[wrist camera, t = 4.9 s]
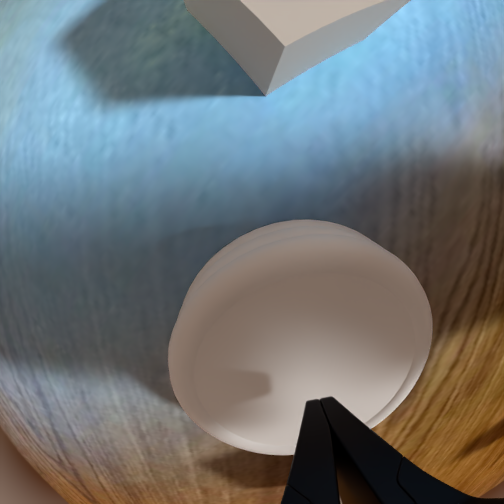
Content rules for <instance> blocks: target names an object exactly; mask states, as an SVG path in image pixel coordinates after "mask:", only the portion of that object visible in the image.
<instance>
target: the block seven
mask: <svg viewBox="0 0 504 504" xmlns="http://www.w3.org/2000/svg"><path fill="white" fill-rule="evenodd" d="M409 1H410V0H184V3H185V6H186V8H187V11H188V12H189V13H190V14H191V15H192V16H193V17H194V18H195V19H196V20H198V21H199V23H200V24H201V25H202V26H203V27H204V28H205V29H206V30H207V31H208V32H209V33H210V34H211V35H212V36H213V37H214V38H215V39H216V40H217V41H218V42H219V43H220V44H221V45H222V46H223V48H224V49H225V50H226V51H227V52H228V53H229V54H230V55H231V56H232V57H233V59H234V60H235V61H236V62H237V63H238V64H239V65H240V67H241V68H242V69H243V70H244V71H245V72H246V73H247V75H248V76H249V77H250V78H251V79H252V80H253V82H254V83H255V84H256V85H257V86H258V88H259V89H260V90H261V91H262V92H263V94H264V95H265V96H267V95H268V94H270V93H272V92H273V91H275V90H276V89H278V88H279V87H281V86H282V85H284V84H286V83H287V82H289V81H290V80H292V79H294V78H295V77H297V76H299V75H300V74H302V73H304V72H305V71H307V70H309V69H310V68H312V67H314V66H316V65H317V64H319V63H321V62H323V61H324V60H326V59H328V58H330V57H332V56H334V55H335V54H337V53H339V52H341V51H343V50H345V49H347V48H349V47H351V46H353V45H355V44H357V43H359V42H361V41H363V40H364V39H366V38H367V37H368V36H369V35H370V34H371V33H372V32H373V31H375V30H376V29H377V28H378V27H379V26H380V25H382V24H383V23H384V22H385V21H386V20H387V19H389V18H390V17H391V16H392V15H393V14H394V13H396V12H397V11H398V10H399V9H401V8H402V7H403V6H404V5H405V4H407V3H408V2H409Z"/></svg>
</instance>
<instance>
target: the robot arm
mask: <svg viewBox="0 0 504 504" xmlns="http://www.w3.org/2000/svg"><path fill="white" fill-rule="evenodd" d="M340 498H341V501H342V504H504V498H489V499H488V498H477V497H473V496H470V495H467V494H465V493H463V492H461V491H459V490H457V489H455V488H453V487H451V486H449V485H447V484H445V483H444V482H442V481H440V480H438V479H436V478H435V477H433V476H431V475H429V474H428V473H426V472H425V471H423V470H422V469H420V468H419V467H417V466H416V465H415V464H413V463H412V462H411V461H409V460H408V459H407V458H406V457H403V455H402V454H401V453H399V452H398V451H397V450H396V449H394V448H393V447H392V446H391V445H389V444H388V443H387V442H386V441H384V440H383V439H382V438H381V437H380V436H378V435H377V434H376V433H375V432H374V431H372V430H371V429H370V428H369V427H368V426H366V425H365V424H364V423H363V422H362V421H361V420H359V419H358V418H357V417H356V416H355V415H354V414H352V413H351V412H350V411H349V410H348V409H347V408H345V407H344V406H343V405H342V404H341V403H340V402H339V401H337V400H336V399H335V398H334V397H332V396H329V397H324V398H320V400H319V399H313V400H308V401H306V403H305V408H304V413H303V418H302V422H301V427H300V432H299V436H298V440H297V445H296V449H295V453H294V457H293V461H292V465H291V469H290V473H289V477H288V480H287V486H286V487H285V491H284V495H283V498H282V501H281V504H340Z"/></svg>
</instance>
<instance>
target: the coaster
mask: <svg viewBox="0 0 504 504" xmlns="http://www.w3.org/2000/svg"><path fill="white" fill-rule="evenodd" d="M432 333H433V325H432V314H431V309H430V304H429V302H428V299H427V296H426V293H425V291H424V289H423V287H422V286H421V284H420V282H419V281H418V279H417V277H416V276H415V274H414V273H413V272H412V271H411V270H410V269H409V267H408V266H407V265H406V264H405V263H404V262H402V261H401V260H400V259H399V258H398V257H396V256H395V255H394V254H392V253H390V252H389V251H387V250H385V249H384V248H383V247H381V246H380V245H378V244H377V243H375V242H373V241H372V240H370V239H369V238H368V237H366V236H364V235H362V234H361V233H359V232H357V231H356V230H353V229H351V228H348V227H346V226H343V225H340V224H336V223H332V222H328V221H321V220H311V219H307V220H289V221H283V222H278V223H273V224H270V225H267V226H263V227H260V228H257V229H255V230H253V231H251V232H249V233H247V234H244V235H242V236H240V237H239V238H237V239H235V240H234V241H232V242H231V243H229V244H228V245H226V246H225V247H223V248H222V249H221V250H220V251H219V252H218V253H216V254H215V255H214V256H213V257H212V258H211V259H210V260H209V261H208V262H207V263H206V264H205V265H204V267H203V268H202V269H201V270H200V271H199V273H198V274H197V276H196V277H195V279H194V281H193V282H192V284H191V285H190V287H189V289H188V292H187V294H186V296H185V298H184V301H183V305H182V307H181V309H180V312H179V314H178V318H177V321H176V323H175V325H174V328H173V330H172V334H171V338H170V342H169V347H168V367H169V375H170V382H171V385H172V388H173V391H174V394H175V396H176V398H177V400H178V402H179V404H180V406H181V407H182V408H183V410H184V411H185V412H186V414H187V415H188V416H189V417H190V418H191V419H192V420H193V421H194V422H195V423H196V424H197V425H198V426H199V427H200V428H202V429H203V430H204V431H206V432H207V433H208V434H210V435H212V436H213V437H215V438H217V439H219V440H221V441H222V442H225V443H227V444H229V445H232V446H234V447H237V448H240V449H243V450H246V451H251V452H255V453H261V454H269V455H294V453H295V449H296V445H297V440H298V436H299V432H300V427H301V422H302V418H303V413H304V408H305V403H306V401H308V400H313V399H319V400H320V398H324V397H329V396H332V397H334V398H335V399H336V400H337V401H339V402H340V403H341V404H342V405H343V406H344V407H345V408H347V409H348V410H349V411H350V412H351V413H352V414H354V415H355V416H356V417H357V418H358V419H359V420H361V421H362V422H363V423H364V424H365V425H366V426H368V427H369V428H370V429H371V428H373V427H374V426H376V425H377V424H378V423H380V422H381V421H382V420H384V419H385V418H386V417H387V416H388V415H389V414H390V413H392V412H393V411H394V410H395V409H396V408H397V407H398V406H399V405H400V403H401V402H402V401H403V400H404V399H405V398H406V396H407V395H408V394H409V392H410V391H411V389H412V388H413V387H414V385H415V383H416V381H417V380H418V378H419V376H420V374H421V372H422V370H423V368H424V365H425V363H426V360H427V358H428V354H429V350H430V347H431V341H432Z"/></svg>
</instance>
